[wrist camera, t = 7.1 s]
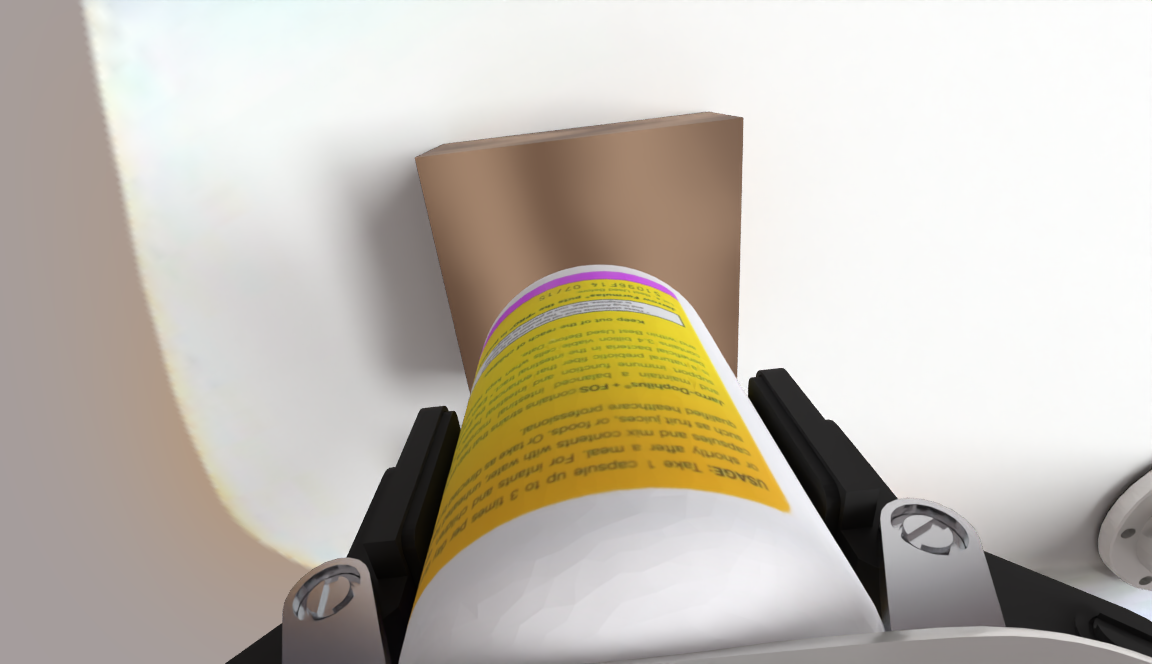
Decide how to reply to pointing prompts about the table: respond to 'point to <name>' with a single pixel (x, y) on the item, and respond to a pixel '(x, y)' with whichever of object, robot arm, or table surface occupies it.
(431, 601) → the supplement bottle
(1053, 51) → the table surface
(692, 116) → the walnut block
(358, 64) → the table surface
